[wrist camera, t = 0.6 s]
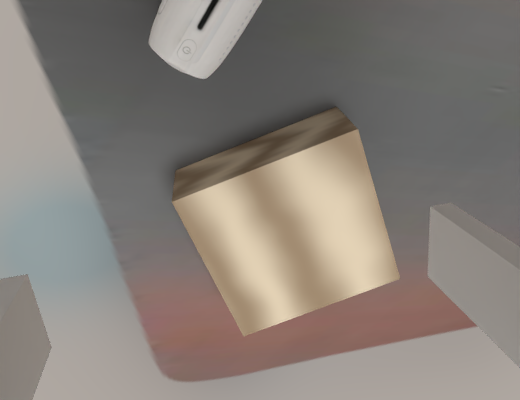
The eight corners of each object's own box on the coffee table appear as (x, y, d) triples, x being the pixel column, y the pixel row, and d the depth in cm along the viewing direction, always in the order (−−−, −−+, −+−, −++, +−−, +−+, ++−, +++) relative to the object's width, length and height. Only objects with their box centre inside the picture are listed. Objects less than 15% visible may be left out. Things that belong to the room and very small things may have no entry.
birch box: (335, 105, 38) (357, 128, 32) (375, 240, 44) (400, 278, 39) (175, 169, 38) (171, 201, 33) (238, 292, 45) (243, 336, 40)
